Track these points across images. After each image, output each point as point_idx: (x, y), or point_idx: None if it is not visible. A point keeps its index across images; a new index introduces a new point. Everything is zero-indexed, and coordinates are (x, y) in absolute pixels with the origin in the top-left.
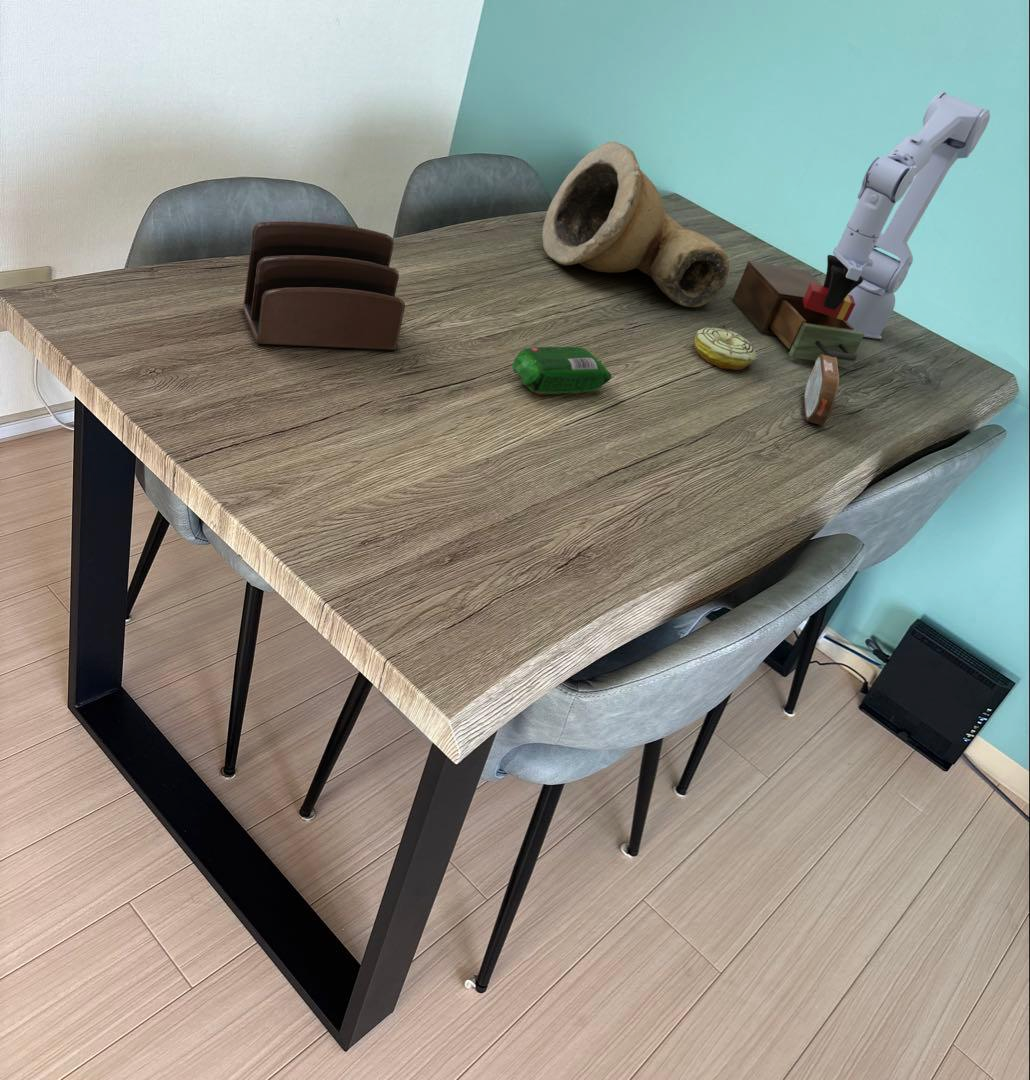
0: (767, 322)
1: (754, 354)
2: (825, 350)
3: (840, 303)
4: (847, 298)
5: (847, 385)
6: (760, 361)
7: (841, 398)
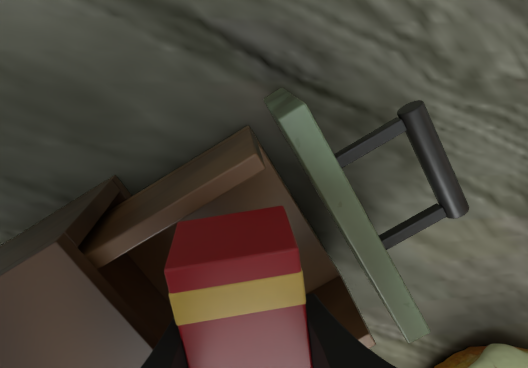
0: None
1: (525, 364)
2: (442, 218)
3: (325, 309)
4: (252, 295)
5: (405, 80)
6: (429, 316)
7: (513, 98)
